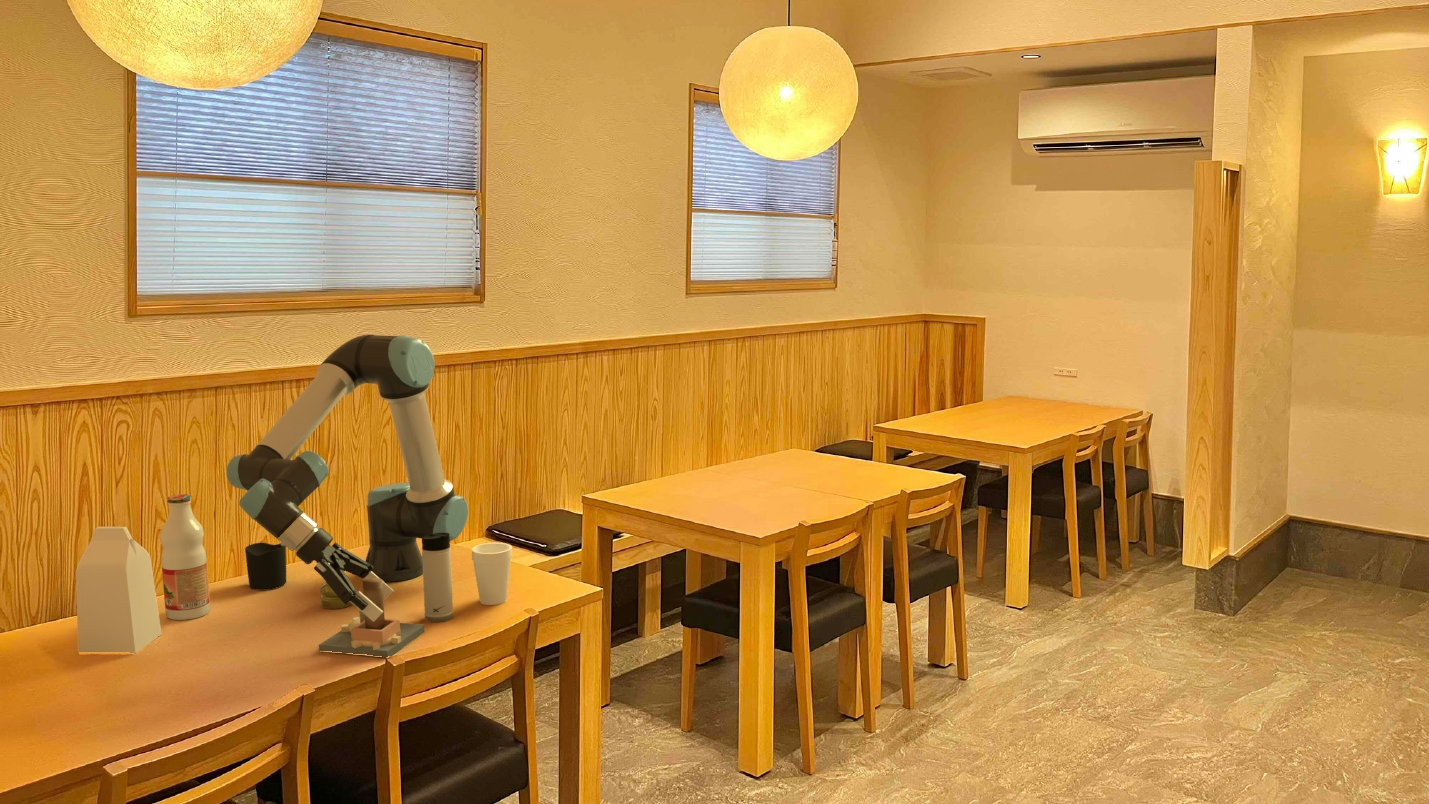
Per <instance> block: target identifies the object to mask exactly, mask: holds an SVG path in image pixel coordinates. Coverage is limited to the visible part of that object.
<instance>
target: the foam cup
mask: <svg viewBox="0 0 1429 804" xmlns="http://www.w3.org/2000/svg"><path fill="white" fill-rule="evenodd" d="M512 558H513V546H512V545H511V544H510V543H505V542H486V543H481V544H477V545H475V546H473V547H471V560H472V562H473V568H474V574H475V579H476V585H477V591H478V596H479V601H480V603H481V604H483V605H487V606H496V605H501V604H505V603H506V602H507V601H508V592H509V582H510V573H511V562H512Z"/></svg>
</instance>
